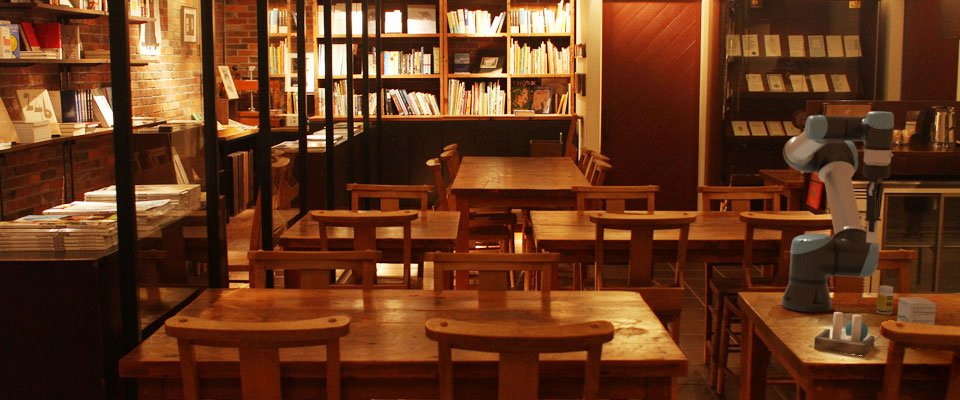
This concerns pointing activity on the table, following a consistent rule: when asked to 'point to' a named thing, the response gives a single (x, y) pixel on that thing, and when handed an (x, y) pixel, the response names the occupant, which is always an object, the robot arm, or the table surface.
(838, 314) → the pin
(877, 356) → the table surface
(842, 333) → the beige square tile
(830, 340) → the tray
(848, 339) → the pin front
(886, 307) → the supplement bottle
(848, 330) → the ball
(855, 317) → the pin
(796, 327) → the table surface
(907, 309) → the supplement box
